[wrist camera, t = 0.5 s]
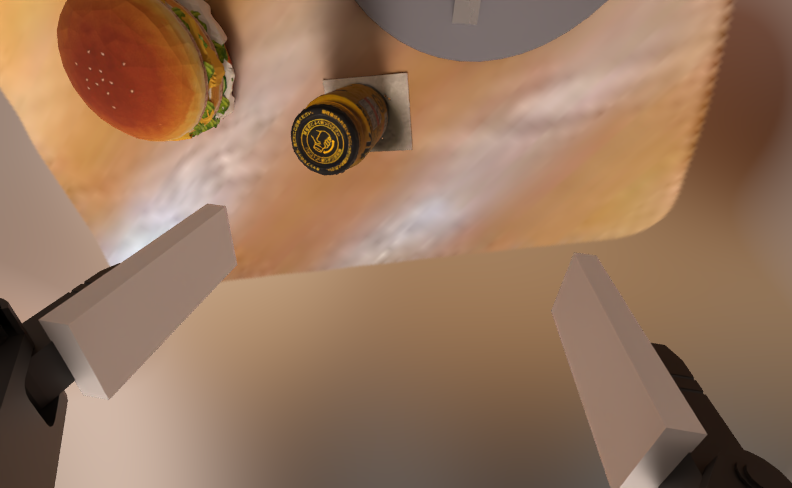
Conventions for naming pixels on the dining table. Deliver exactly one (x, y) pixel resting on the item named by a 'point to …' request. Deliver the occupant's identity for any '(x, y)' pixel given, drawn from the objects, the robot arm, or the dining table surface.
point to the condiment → (353, 122)
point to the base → (478, 25)
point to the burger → (148, 65)
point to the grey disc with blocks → (466, 12)
